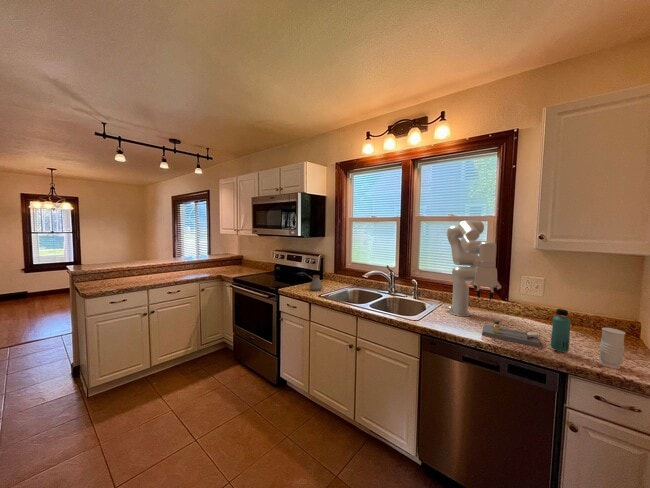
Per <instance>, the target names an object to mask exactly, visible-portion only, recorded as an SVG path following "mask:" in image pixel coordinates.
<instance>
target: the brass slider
mask: <svg viewBox="0 0 650 488" xmlns="http://www.w3.org/2000/svg"><path fill="white" fill-rule="evenodd" d="M492 326H494V327H493V332H495V333H499V327H500V324H499V325H498V324H494V323H493V325H492Z"/></svg>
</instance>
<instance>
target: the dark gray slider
mask: <svg viewBox="0 0 650 488" xmlns="http://www.w3.org/2000/svg"><path fill="white" fill-rule="evenodd" d="M493 324H498V325H499V326H500V320H495V319H494V320H493Z"/></svg>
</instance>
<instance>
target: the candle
mask: <svg viewBox="0 0 650 488" xmlns="http://www.w3.org/2000/svg"><path fill="white" fill-rule="evenodd" d="M601 330H602V333H601V340H599V341H600V344H599V351H600V352H599V356H598V358H599V359H600V360H601V361H600V362H599V363H600V364H601V365H602V366H604V367H607V368H610V369H614V370H615V369H616V370H620V369H621V366H620V365H623V362H624V361H623V357H624V356H625V348H626V346H625V343H624V342H625V335H626V334H627V333H626V332H625V331H623V330H620V329H617V328H612V327H602V328H601Z"/></svg>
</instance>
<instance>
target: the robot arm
mask: <svg viewBox="0 0 650 488" xmlns="http://www.w3.org/2000/svg"><path fill="white" fill-rule="evenodd" d="M484 230H485V224H484V223H483V222H482V221H481V220H473V219H472V220H470V219H469V220H468V219H465V220H462V221H460V222H459V223H458V225H457V224H456V225H451V226H449V227H447V231H446V236H447V239H448V243H449V245H450V248H451V257H452V263H453V264H454V265H456V266H455V267H453V268H452V270H451V276H452V300H451V305H448V304H444V308H445V309H447V310H448V312H449V314H451V315H454V316H458V317H469V316H471V313H470V312H469V299H470V298H469V295H470V287H469V285H468V283H466V282H470V283H469V284H470V285H471V286H472V287H473V288H474V289H475V290H476V297H477V298H478V299H481V287H486V288H490V289H489V298H488V299H489V301H491V300H492V299H493V298H494V293H495V292H496V291H498V290H500V289H502V285H501V284H500V282H499V281H498V270H497V267H496V257H497V244H496V242H493V241H488V240H478V239H479V238H480V235H481V234H483V233H484Z"/></svg>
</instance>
